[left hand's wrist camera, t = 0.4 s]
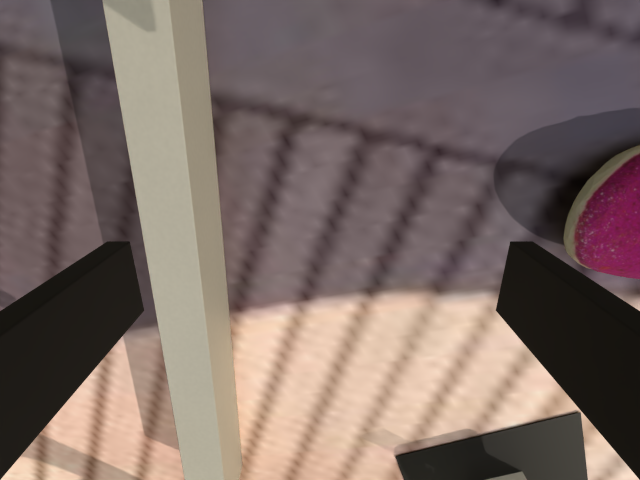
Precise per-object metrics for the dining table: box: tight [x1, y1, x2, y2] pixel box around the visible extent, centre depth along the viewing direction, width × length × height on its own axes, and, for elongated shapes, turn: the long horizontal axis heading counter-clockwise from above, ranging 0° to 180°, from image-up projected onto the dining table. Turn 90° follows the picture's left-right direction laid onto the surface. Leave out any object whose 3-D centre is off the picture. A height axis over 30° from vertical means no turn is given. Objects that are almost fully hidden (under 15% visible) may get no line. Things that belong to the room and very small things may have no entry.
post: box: [102, 0, 242, 480], centre depth 36 cm, size 64×5×8 cm, turn 179°
